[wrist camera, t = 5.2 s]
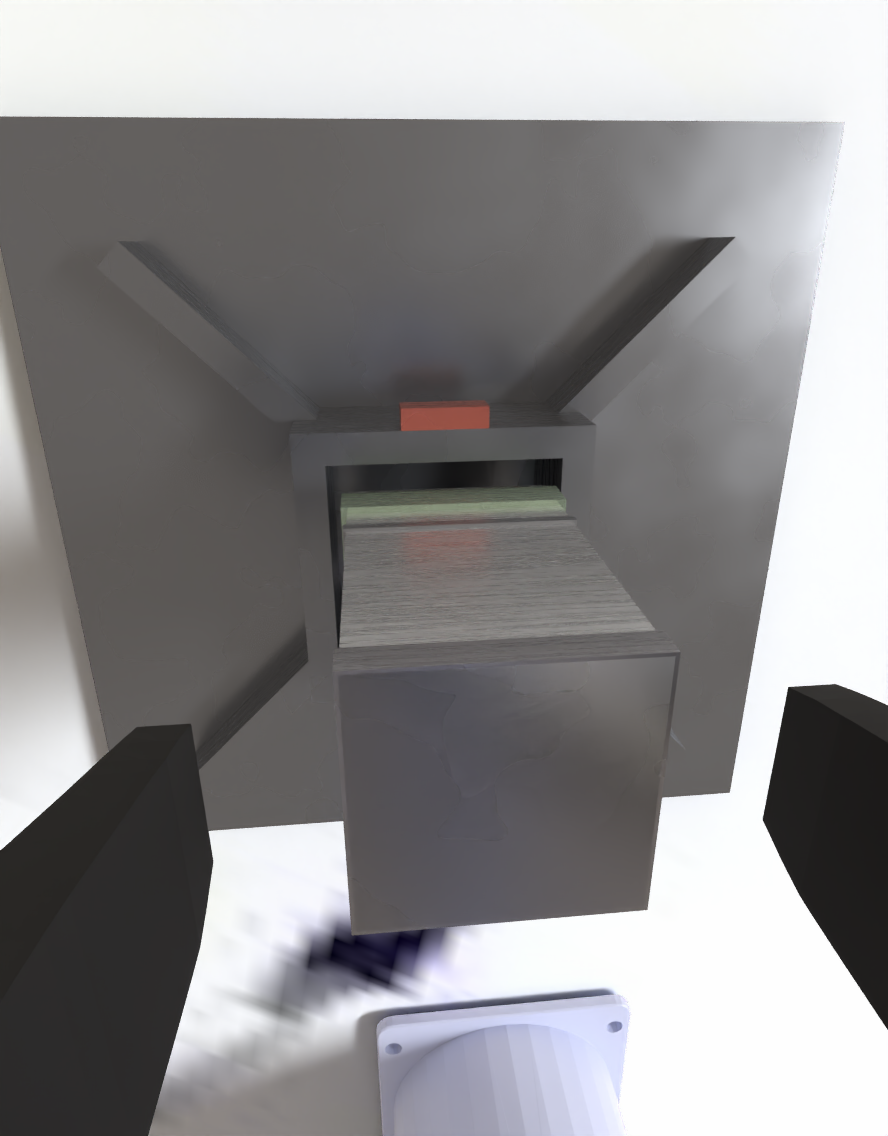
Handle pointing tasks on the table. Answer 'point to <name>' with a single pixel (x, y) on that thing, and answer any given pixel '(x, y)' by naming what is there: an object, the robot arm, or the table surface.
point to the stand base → (401, 389)
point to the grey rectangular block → (493, 713)
